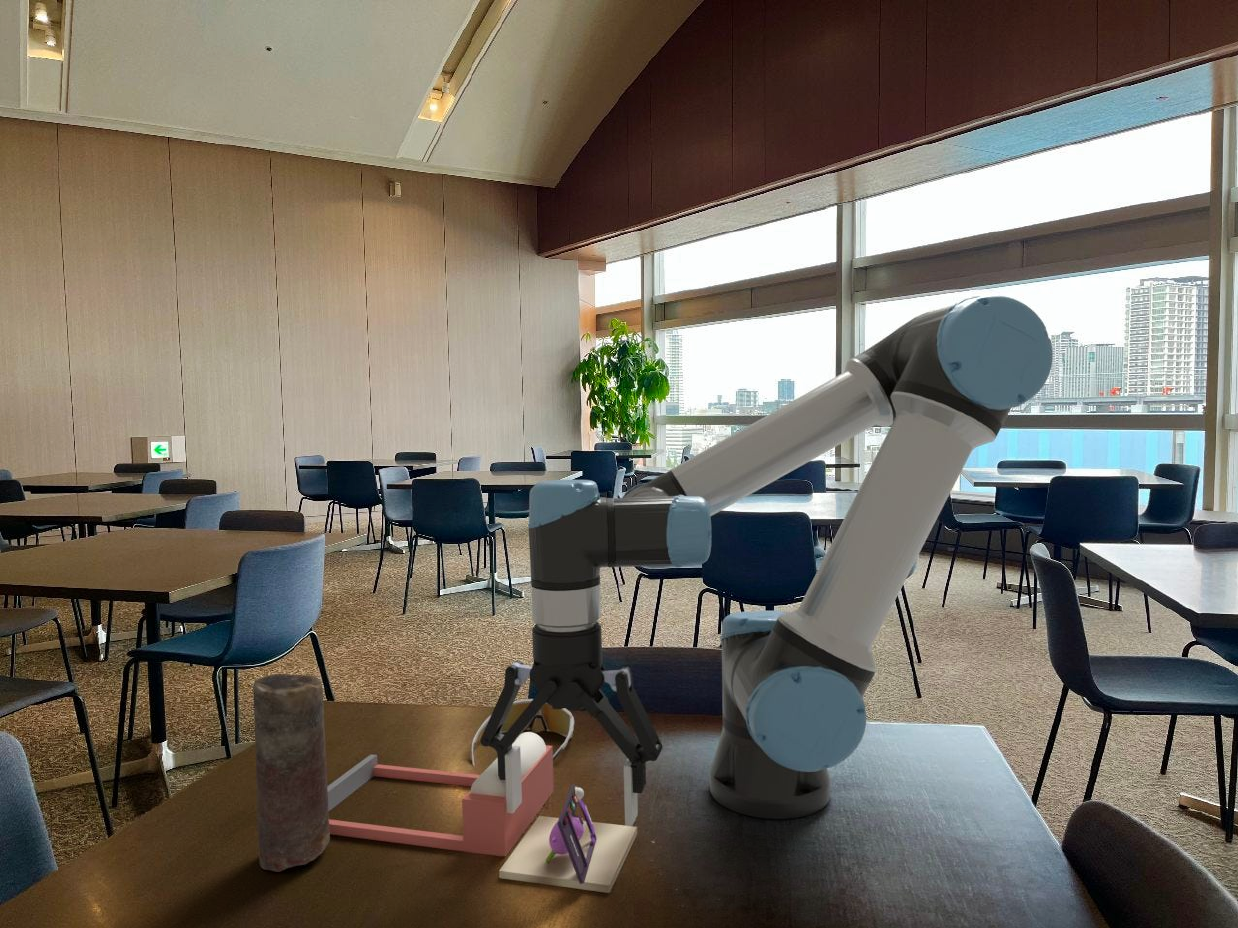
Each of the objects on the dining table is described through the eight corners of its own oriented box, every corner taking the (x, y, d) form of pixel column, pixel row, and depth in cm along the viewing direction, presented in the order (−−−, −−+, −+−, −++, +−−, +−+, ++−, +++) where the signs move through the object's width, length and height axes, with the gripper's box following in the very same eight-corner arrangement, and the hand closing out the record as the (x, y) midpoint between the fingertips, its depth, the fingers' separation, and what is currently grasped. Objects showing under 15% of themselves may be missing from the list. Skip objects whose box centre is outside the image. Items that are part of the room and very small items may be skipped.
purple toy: (567, 819, 82) (582, 780, 91) (520, 834, 83) (539, 793, 92) (590, 881, 82) (603, 836, 91) (543, 895, 83) (560, 849, 92)
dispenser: (553, 791, 105) (552, 729, 104) (505, 856, 89) (503, 783, 89) (371, 772, 111) (369, 713, 111) (297, 829, 96) (294, 762, 96)
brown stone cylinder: (278, 837, 94) (271, 668, 93) (341, 837, 94) (334, 668, 93) (246, 875, 87) (237, 691, 85) (314, 874, 86) (306, 690, 85)
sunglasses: (584, 731, 125) (582, 701, 124) (556, 788, 111) (553, 754, 110) (498, 725, 128) (495, 695, 127) (459, 779, 114) (456, 747, 113)
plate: (637, 833, 94) (637, 826, 94) (609, 892, 82) (609, 885, 82) (539, 822, 97) (539, 815, 97) (499, 877, 85) (499, 870, 85)
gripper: (686, 618, 88) (689, 808, 90) (475, 610, 95) (481, 787, 96) (672, 637, 81) (676, 843, 82) (446, 626, 87) (452, 818, 89)
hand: (571, 813), depth 89 cm, fingers open, 13 cm apart
